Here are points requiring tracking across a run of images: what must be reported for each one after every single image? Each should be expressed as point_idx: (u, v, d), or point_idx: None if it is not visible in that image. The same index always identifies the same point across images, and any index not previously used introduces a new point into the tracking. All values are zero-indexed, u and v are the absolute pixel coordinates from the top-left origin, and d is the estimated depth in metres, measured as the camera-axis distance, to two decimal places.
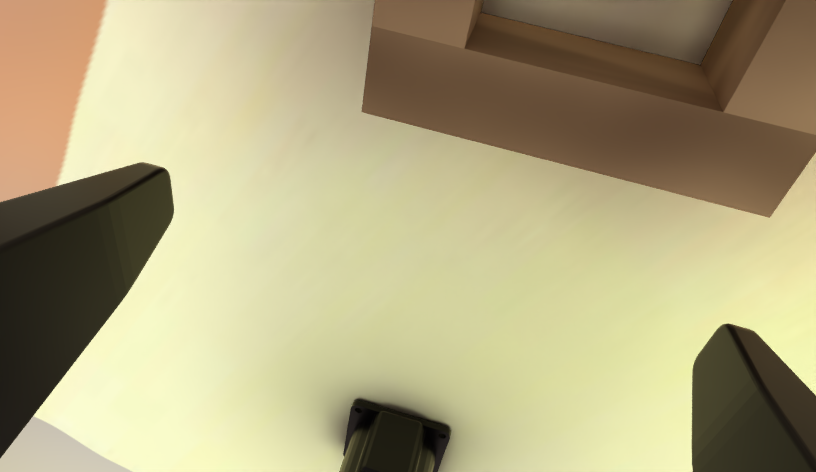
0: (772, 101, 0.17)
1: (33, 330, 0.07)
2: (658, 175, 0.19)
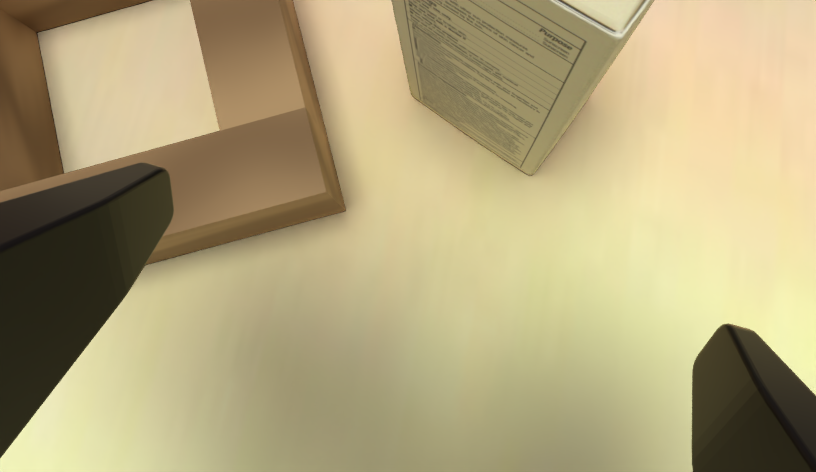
0: (246, 104, 0.19)
1: (33, 330, 0.07)
2: (211, 208, 0.19)
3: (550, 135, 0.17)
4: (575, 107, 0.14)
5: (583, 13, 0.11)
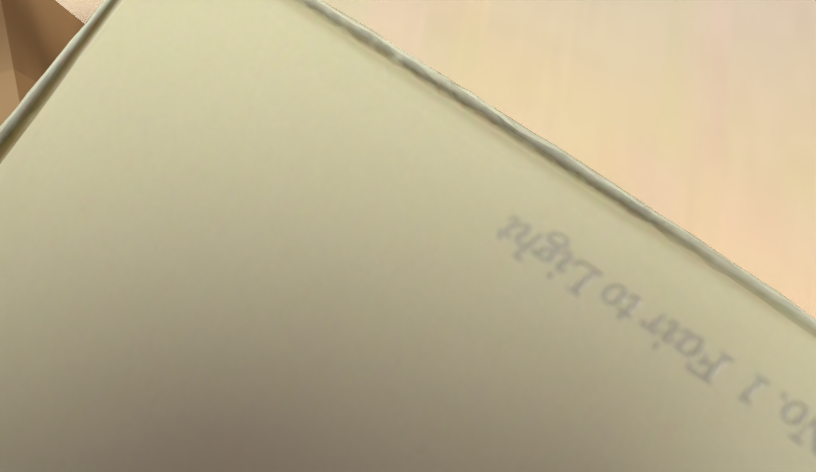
0: None
1: None
2: None
3: None
4: None
5: None
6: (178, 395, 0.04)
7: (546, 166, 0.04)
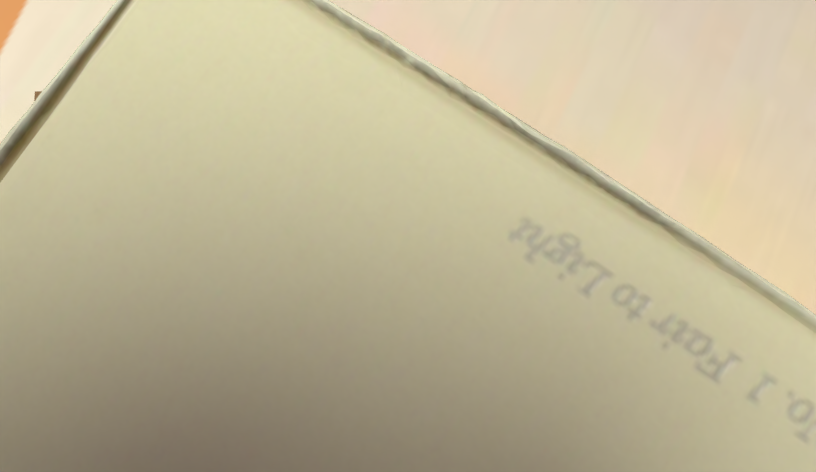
0: None
1: None
2: None
3: None
4: None
5: None
6: (192, 398, 0.04)
7: (557, 168, 0.04)
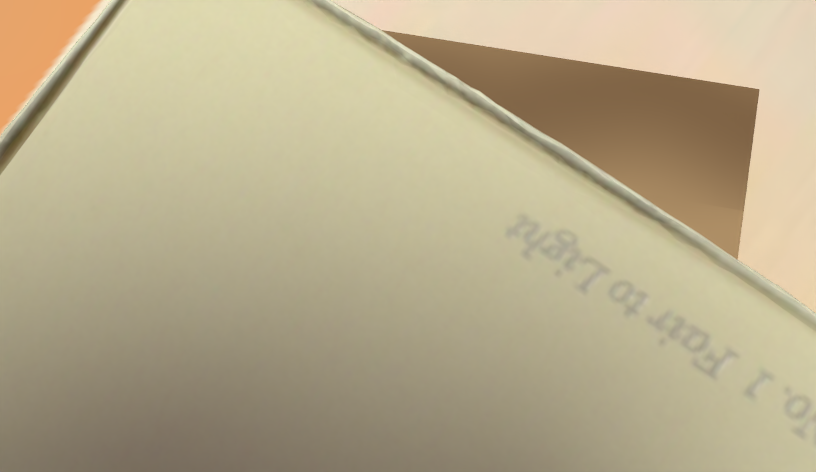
0: None
1: None
2: None
3: None
4: None
5: None
6: (187, 393, 0.04)
7: (554, 165, 0.04)
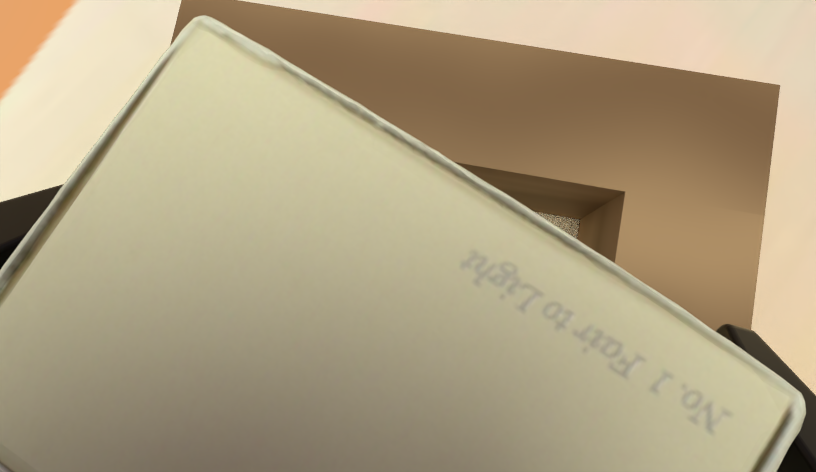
0: None
1: None
2: None
3: None
4: None
5: None
6: (211, 399, 0.05)
7: (499, 209, 0.05)
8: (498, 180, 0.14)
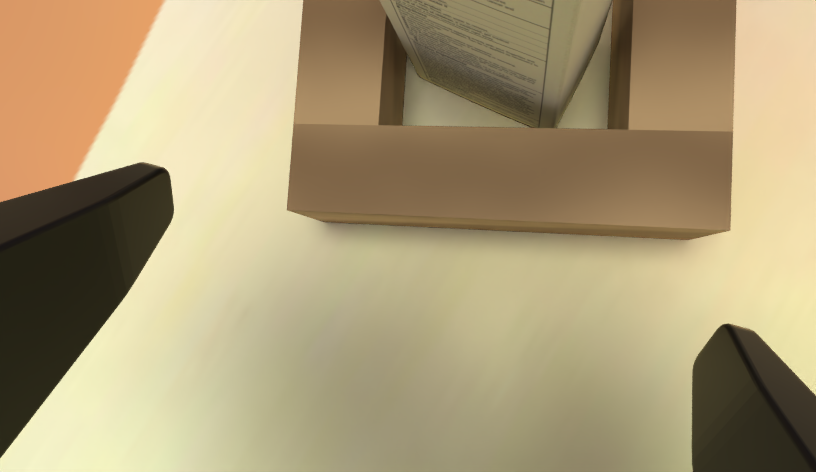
0: (666, 109, 0.18)
1: (33, 330, 0.07)
2: (596, 209, 0.18)
3: (554, 87, 0.17)
4: (569, 52, 0.14)
5: None
6: None
7: None
8: None
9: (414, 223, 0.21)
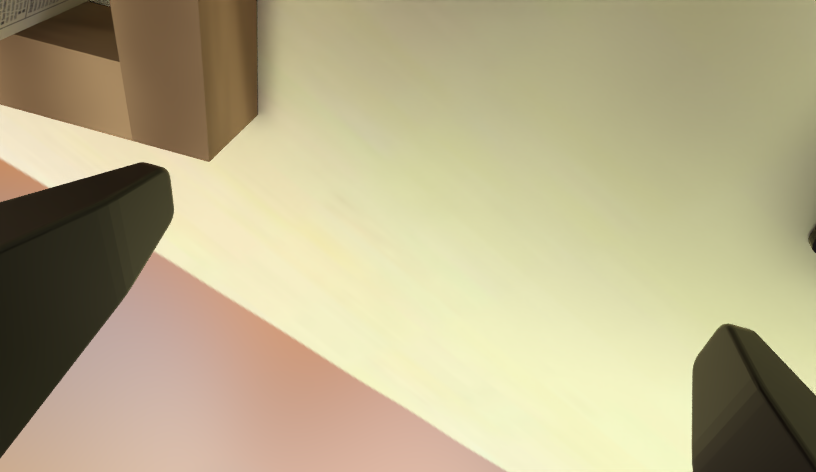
0: None
1: (33, 330, 0.07)
2: None
3: None
4: None
5: None
6: None
7: None
8: None
9: (241, 29, 0.20)
